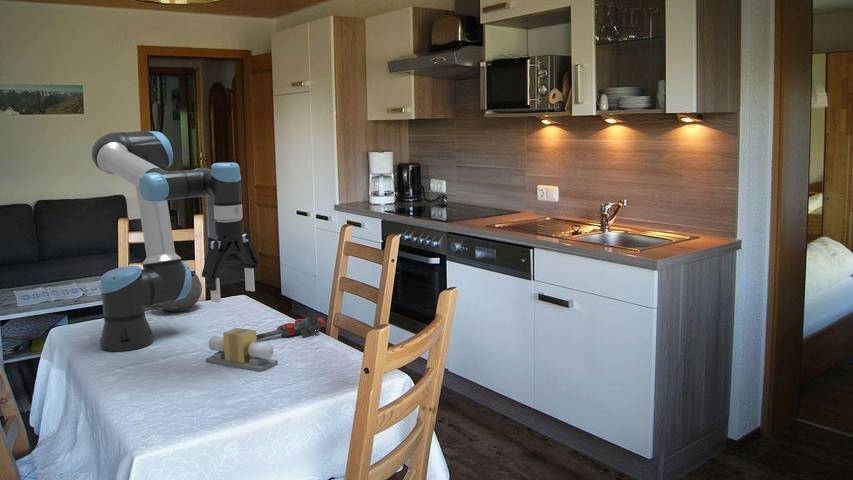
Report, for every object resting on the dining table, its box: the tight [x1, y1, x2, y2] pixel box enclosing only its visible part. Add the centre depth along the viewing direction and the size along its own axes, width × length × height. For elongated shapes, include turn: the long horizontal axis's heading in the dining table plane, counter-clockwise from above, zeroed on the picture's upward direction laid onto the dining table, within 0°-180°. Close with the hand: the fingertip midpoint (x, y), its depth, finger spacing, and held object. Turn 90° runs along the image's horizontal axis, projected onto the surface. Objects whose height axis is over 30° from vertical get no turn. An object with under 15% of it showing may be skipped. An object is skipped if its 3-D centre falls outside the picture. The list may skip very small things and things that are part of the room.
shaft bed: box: [205, 335, 279, 373], centre depth 206 cm, size 20×7×6 cm, turn 62°
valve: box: [256, 316, 325, 341], centre depth 233 cm, size 6×26×15 cm
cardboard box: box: [222, 327, 258, 364], centre depth 205 cm, size 7×6×8 cm
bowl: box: [156, 271, 203, 313], centre depth 266 cm, size 18×18×13 cm
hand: (233, 296), depth 204 cm, fingers open, 13 cm apart
